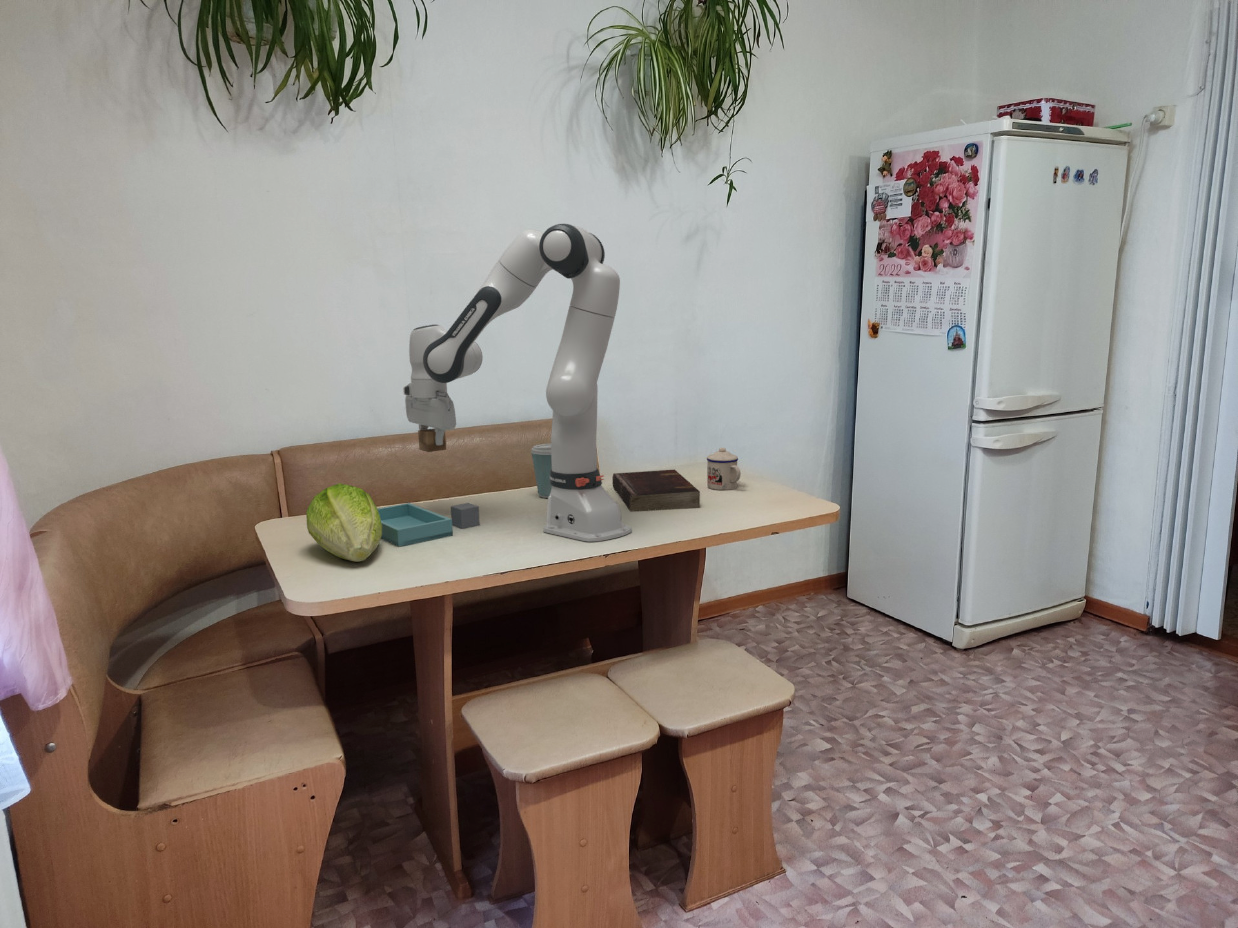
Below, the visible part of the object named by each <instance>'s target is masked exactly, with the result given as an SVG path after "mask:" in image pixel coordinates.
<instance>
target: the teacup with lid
mask: <svg viewBox="0 0 1238 928" xmlns="http://www.w3.org/2000/svg"><path fill="white" fill-rule="evenodd" d="M706 460H707V462H706V463H707V468H706V469H707V473H706V474H707V476H706V477H707V479H706V484H707V485H706V487H707V488H708V489H710V490H715V491H731V490H735V489H736V488H737V487H738V482H739V480H740V478H741V469H740V468H739V466H738V460H739V458H738V456H737V455H736V454H733V453H731V452H730V451H727V449H726V448H725V447H719V449H718V450H717V451H715V452H714V453H711V454H709V455H707V457H706Z"/></svg>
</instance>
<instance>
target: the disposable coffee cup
mask: <svg viewBox="0 0 1238 928" xmlns="http://www.w3.org/2000/svg"><path fill="white" fill-rule="evenodd" d="M530 453H531V458H532V464H533V470H534V476H535V481H536V488H537V493H538V495H539V497H540V498H543V499H548V497H549V495H550V492H551V489H552V485H551V484H550V470H551V469H552V461H551V442H550V443H543V444H536V445H533V446H532V448H531V450H530Z"/></svg>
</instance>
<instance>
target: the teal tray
mask: <svg viewBox="0 0 1238 928" xmlns="http://www.w3.org/2000/svg"><path fill="white" fill-rule="evenodd" d="M377 509H378V512H379V515H380V519H381V524H382V536H381V539H380V540H384V541H385V542H387V543H388V544H389V543H390V544H391V545H394V546H395V547H398V548H401V547H405V546H410V545H413V544H419V543H423V542H427V541H434V540H438V539H442V538H447V537H451V536H454V535H453V533H454V532H453V526H452V519H451V518H450V517H447V516H445V515H442V514H440V513H437V512H434V511H432V510H429V509H427V508H423V507H421V506H418V505H416V504H414V503H411V502H408V503H400V504H397V505H396V504H395V505H389V506H386V507H379V508H378V507H377Z"/></svg>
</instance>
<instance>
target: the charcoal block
mask: <svg viewBox="0 0 1238 928" xmlns="http://www.w3.org/2000/svg"><path fill="white" fill-rule="evenodd" d="M450 516H451V518H450V519H452V527H455V528H458V529H461V530H465V529H466V530H467V529H470V528H474V527H479V526H481V525H480V506H479V505H477V504H473V503H470V502H466V503H461V504H455V505H451V506H450Z"/></svg>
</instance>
